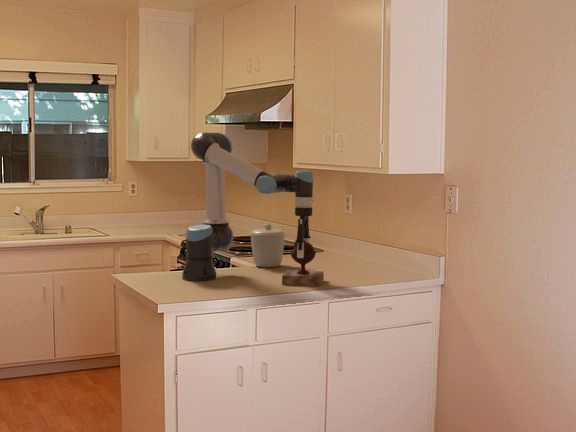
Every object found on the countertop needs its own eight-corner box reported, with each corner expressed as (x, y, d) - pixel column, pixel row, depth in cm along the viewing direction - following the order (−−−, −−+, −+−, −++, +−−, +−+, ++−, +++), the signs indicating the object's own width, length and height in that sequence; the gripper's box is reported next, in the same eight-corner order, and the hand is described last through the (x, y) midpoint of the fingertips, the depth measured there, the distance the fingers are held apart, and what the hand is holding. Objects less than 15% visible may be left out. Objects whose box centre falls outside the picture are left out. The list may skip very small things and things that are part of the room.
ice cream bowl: (294, 276, 328) (294, 241, 326) (287, 271, 339) (287, 237, 337) (318, 275, 331) (318, 240, 329) (311, 270, 341) (311, 236, 340)
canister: (264, 270, 367) (264, 226, 365) (242, 265, 381) (242, 223, 379) (293, 266, 378) (293, 223, 376) (270, 262, 392) (271, 220, 390)
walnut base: (282, 284, 330) (282, 275, 329) (287, 279, 343) (287, 270, 343) (319, 286, 327) (319, 276, 327) (323, 280, 341) (323, 271, 340)
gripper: (308, 209, 319) (307, 260, 321) (316, 204, 344) (315, 251, 346) (290, 208, 320) (289, 259, 323) (299, 204, 345) (298, 251, 347)
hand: (302, 255), depth 334 cm, fingers open, 13 cm apart
